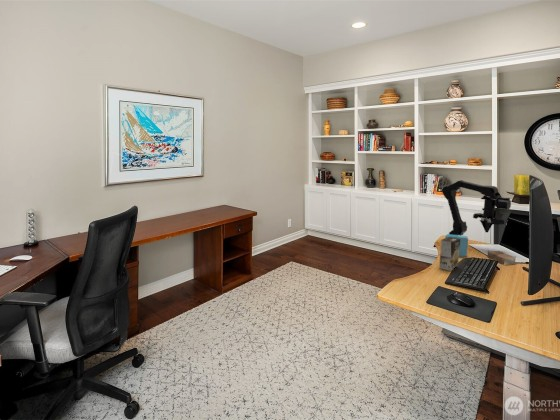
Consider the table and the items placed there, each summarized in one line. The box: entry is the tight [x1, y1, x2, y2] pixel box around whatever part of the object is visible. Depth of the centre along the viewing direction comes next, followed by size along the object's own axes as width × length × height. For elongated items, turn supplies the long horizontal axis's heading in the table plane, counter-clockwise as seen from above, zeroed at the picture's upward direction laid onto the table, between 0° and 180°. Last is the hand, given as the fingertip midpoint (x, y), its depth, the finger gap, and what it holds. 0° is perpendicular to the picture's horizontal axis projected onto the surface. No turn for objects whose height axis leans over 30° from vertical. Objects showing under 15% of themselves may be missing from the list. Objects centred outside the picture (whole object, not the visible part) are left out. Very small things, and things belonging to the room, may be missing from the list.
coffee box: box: [438, 237, 460, 272], centre depth 183 cm, size 9×6×16 cm
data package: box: [444, 233, 469, 258], centre depth 203 cm, size 12×4×12 cm, turn 64°
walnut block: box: [487, 250, 516, 266], centre depth 193 cm, size 4×7×12 cm
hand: (486, 232), depth 207 cm, fingers closed
